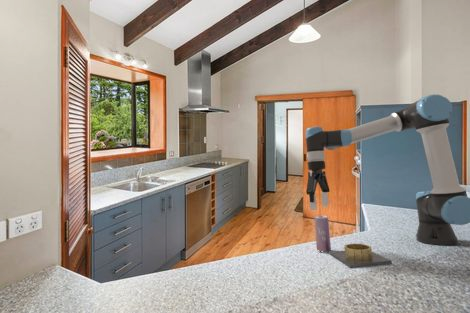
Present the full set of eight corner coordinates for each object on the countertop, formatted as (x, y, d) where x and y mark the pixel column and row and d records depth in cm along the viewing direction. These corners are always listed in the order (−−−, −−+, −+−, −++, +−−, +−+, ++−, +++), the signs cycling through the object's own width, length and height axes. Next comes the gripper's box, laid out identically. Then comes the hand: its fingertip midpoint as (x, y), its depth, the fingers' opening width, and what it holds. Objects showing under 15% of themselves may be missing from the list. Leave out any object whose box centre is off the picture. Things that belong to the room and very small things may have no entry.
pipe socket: (366, 251, 110) (365, 240, 110) (391, 263, 94) (390, 250, 94) (330, 254, 108) (329, 243, 109) (350, 267, 92) (348, 254, 93)
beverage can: (330, 249, 116) (327, 215, 117) (331, 253, 110) (328, 217, 112) (317, 248, 118) (314, 215, 119) (316, 252, 112) (313, 217, 114)
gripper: (318, 162, 129) (322, 204, 128) (296, 161, 110) (299, 211, 109) (334, 160, 125) (337, 205, 123) (312, 159, 106) (316, 212, 104)
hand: (319, 208), depth 116 cm, fingers open, 13 cm apart
